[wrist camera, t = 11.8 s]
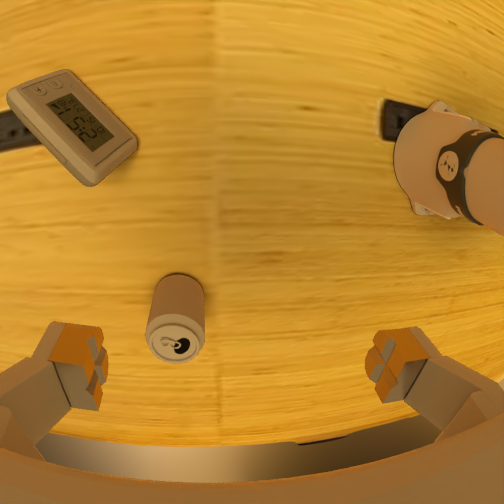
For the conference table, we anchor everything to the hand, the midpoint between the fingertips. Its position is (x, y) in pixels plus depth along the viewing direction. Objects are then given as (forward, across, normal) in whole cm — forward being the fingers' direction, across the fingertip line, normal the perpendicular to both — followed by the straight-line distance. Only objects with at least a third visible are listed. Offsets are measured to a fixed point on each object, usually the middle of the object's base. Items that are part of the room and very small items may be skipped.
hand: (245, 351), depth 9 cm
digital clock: (+34, +17, -5) cm, 39 cm away
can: (+34, +4, +20) cm, 40 cm away
